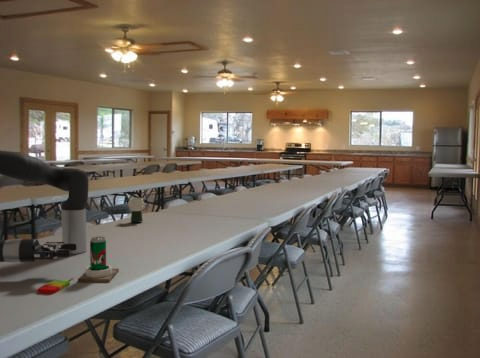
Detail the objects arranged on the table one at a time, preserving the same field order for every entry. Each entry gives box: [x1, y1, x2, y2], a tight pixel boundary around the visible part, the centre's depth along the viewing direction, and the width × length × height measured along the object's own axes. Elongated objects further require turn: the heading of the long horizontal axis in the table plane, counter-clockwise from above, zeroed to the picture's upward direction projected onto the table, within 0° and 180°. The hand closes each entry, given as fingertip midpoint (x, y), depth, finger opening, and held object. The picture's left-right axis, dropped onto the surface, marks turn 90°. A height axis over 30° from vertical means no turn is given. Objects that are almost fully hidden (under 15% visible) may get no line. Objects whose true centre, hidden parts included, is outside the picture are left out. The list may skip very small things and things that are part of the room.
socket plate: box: [77, 263, 119, 283], centre depth 154 cm, size 12×10×3 cm
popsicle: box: [37, 277, 74, 295], centre depth 144 cm, size 6×15×2 cm, turn 168°
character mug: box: [127, 197, 146, 223], centre depth 250 cm, size 11×7×13 cm, turn 66°
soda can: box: [89, 236, 107, 270], centre depth 154 cm, size 5×5×12 cm
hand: (73, 250), depth 153 cm, fingers open, 8 cm apart
